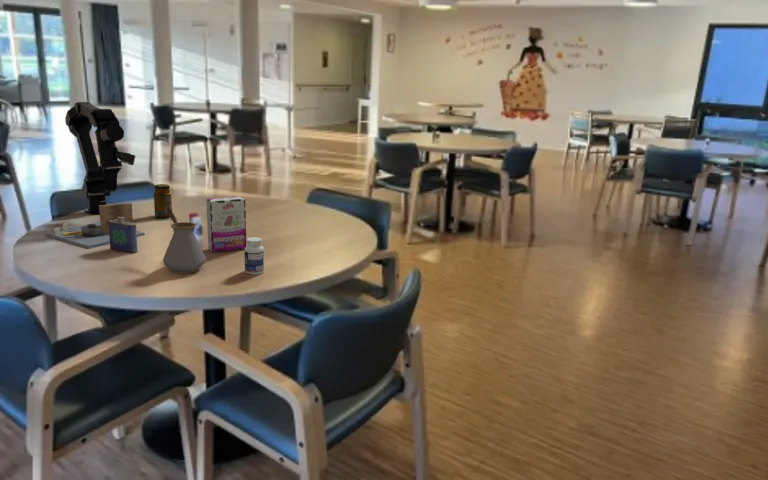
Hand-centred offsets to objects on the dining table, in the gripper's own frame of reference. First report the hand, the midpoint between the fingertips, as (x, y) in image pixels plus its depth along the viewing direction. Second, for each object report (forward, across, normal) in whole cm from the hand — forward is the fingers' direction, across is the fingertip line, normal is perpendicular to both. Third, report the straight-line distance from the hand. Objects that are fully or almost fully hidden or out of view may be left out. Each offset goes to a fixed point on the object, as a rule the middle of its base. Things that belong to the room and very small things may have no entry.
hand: (114, 190), depth 202 cm
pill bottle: (+30, -59, -29) cm, 72 cm away
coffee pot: (+26, -46, -11) cm, 54 cm away
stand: (+14, -10, +8) cm, 20 cm away
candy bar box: (+24, -36, -27) cm, 51 cm away
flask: (+20, -29, +2) cm, 36 cm away
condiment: (+12, +8, -16) cm, 21 cm away
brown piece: (+14, -12, +7) cm, 20 cm away
